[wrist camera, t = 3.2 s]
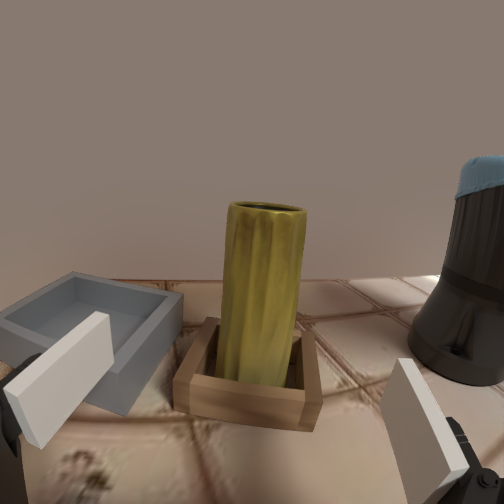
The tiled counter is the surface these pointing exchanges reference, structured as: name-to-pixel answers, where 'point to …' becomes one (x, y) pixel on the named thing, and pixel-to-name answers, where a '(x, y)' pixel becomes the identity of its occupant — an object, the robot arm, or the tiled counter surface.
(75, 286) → the tray
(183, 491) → the tiled counter surface
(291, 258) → the vase
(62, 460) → the tiled counter surface
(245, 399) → the socket
